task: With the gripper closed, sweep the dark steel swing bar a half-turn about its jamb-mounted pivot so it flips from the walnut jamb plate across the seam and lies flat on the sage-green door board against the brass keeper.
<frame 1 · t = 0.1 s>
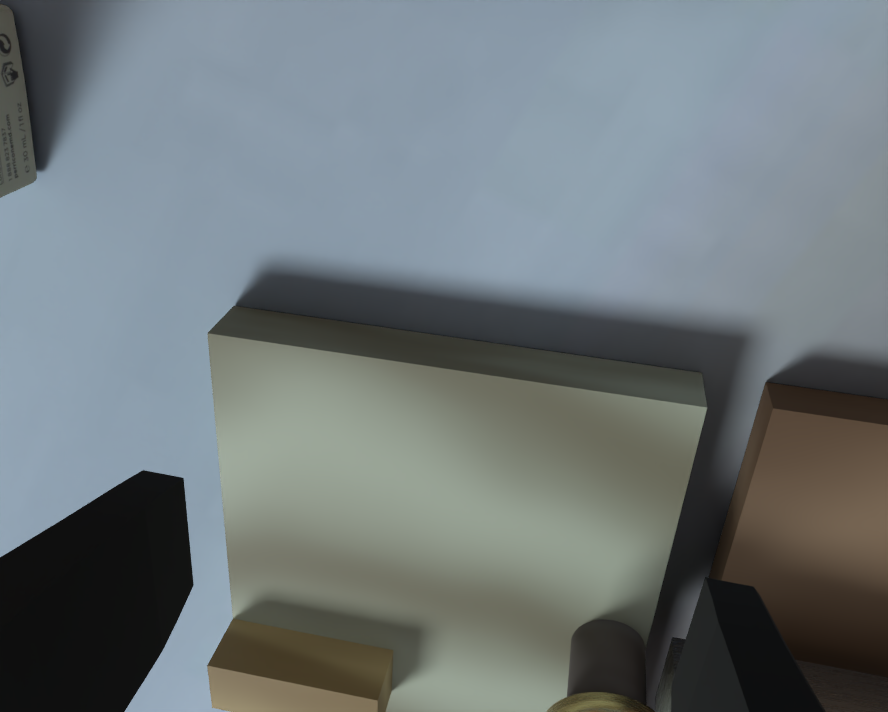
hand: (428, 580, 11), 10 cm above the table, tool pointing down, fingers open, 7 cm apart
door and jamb: (608, 603, 24), on the table
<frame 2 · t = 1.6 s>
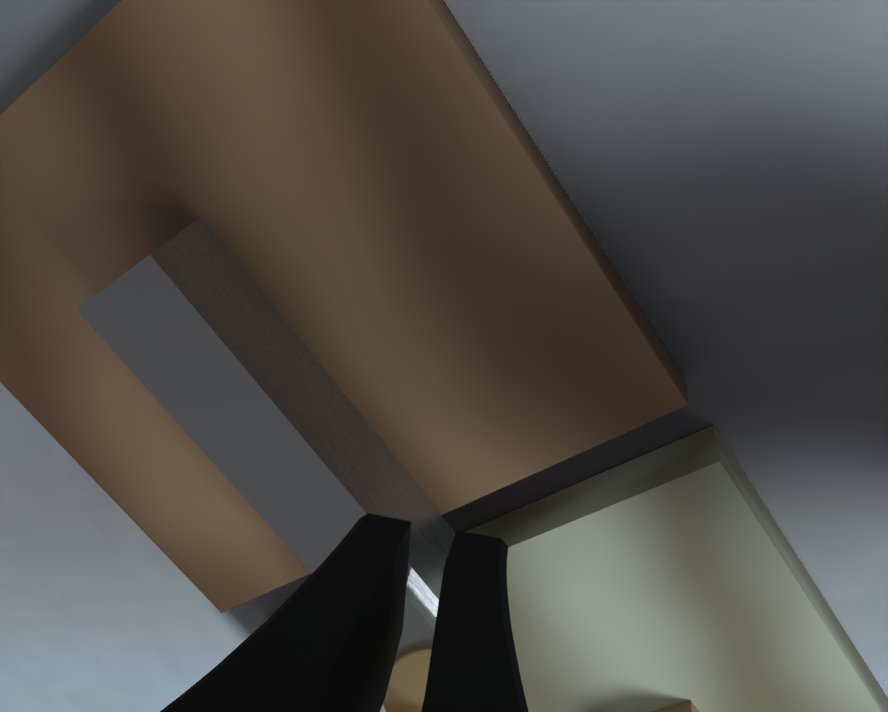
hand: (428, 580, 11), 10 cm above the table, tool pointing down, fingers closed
swing bar: (329, 502, 20), point 4 cm above the table, hinge at 0.0°
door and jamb: (478, 557, 25), on the table
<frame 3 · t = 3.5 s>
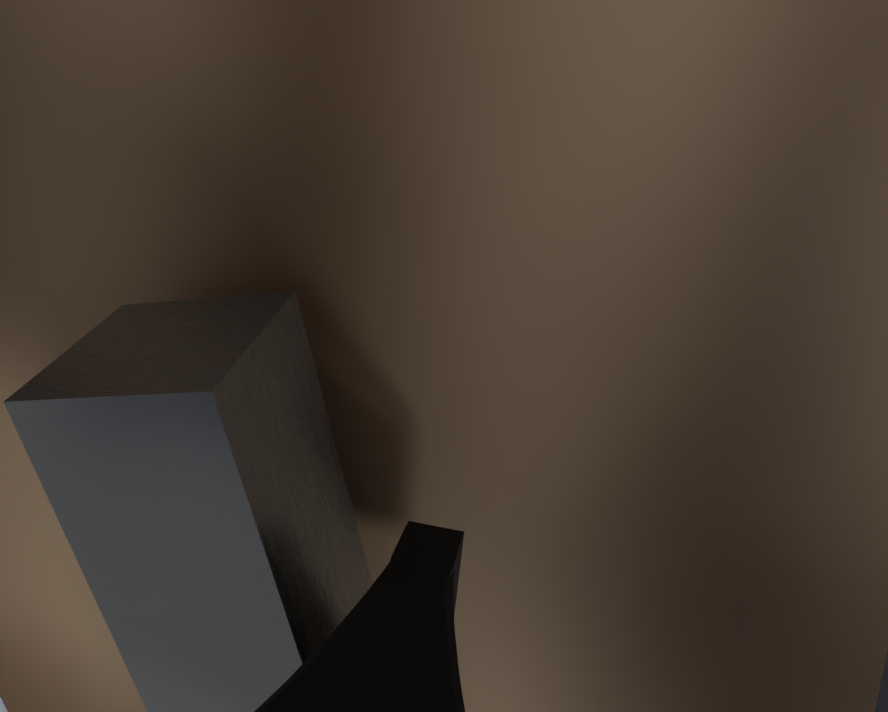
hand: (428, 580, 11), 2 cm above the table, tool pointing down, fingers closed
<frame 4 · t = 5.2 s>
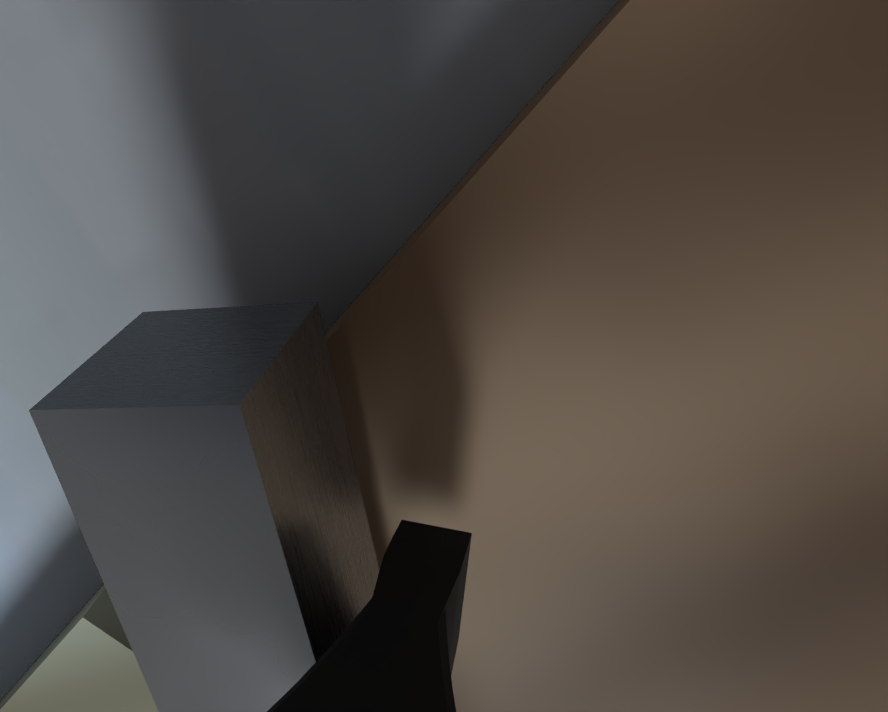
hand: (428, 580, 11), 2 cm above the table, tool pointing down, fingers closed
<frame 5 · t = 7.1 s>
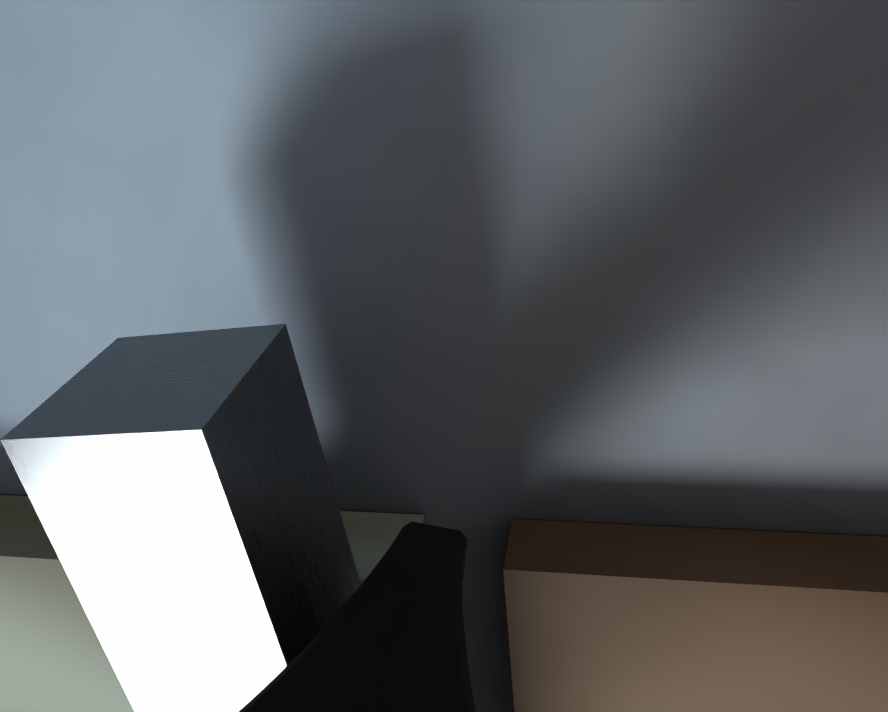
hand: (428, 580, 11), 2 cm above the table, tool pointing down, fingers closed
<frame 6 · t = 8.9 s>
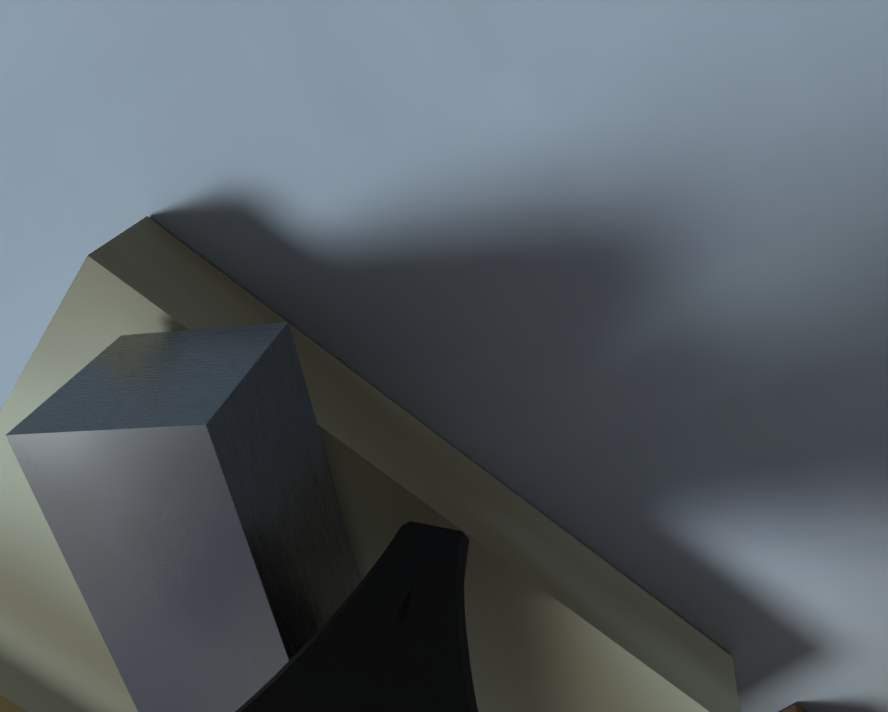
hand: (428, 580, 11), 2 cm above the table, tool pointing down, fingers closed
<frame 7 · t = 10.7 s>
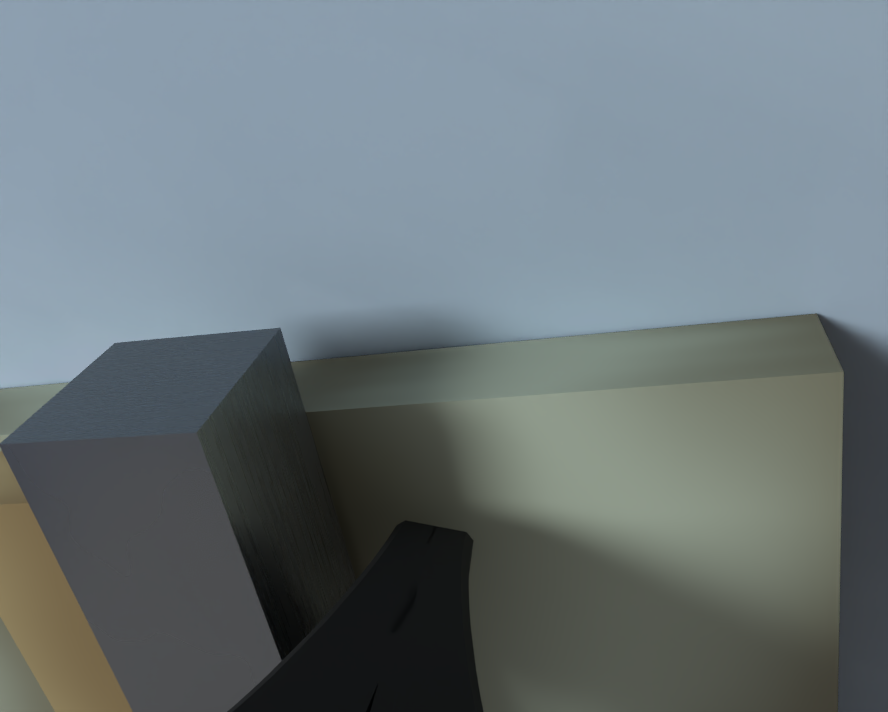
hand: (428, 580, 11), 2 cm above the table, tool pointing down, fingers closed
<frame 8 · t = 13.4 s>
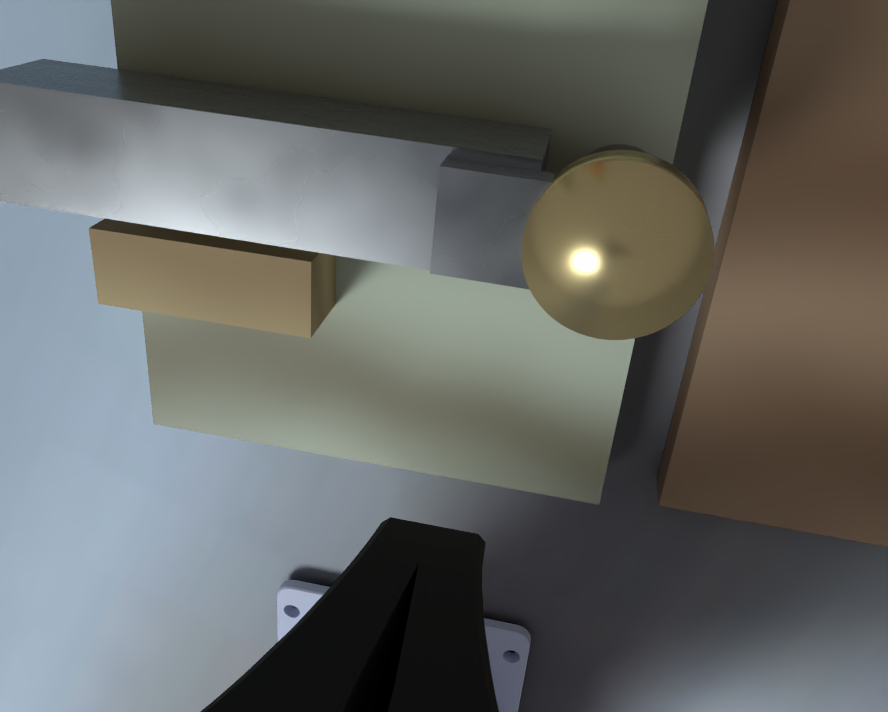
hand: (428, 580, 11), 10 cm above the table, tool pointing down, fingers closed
swing bar: (334, 182, 16), point 4 cm above the table, hinge at 179.4°
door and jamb: (616, 171, 19), on the table
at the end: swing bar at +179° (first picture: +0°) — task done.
